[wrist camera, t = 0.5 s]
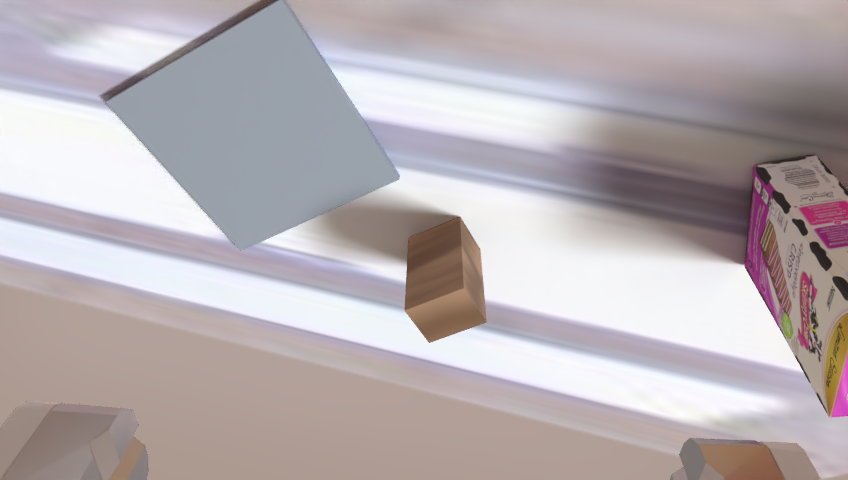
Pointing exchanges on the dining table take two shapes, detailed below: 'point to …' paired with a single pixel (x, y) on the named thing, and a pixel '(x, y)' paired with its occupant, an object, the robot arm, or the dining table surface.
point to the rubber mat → (256, 128)
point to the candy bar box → (804, 267)
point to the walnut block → (444, 281)
